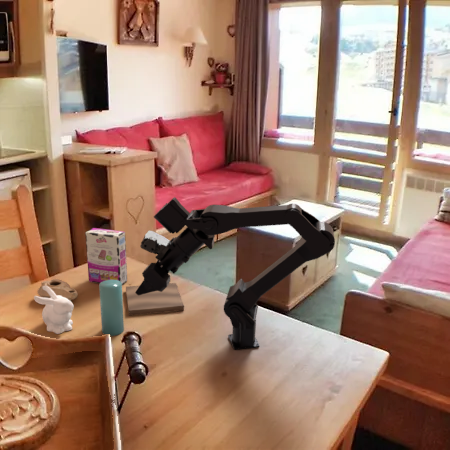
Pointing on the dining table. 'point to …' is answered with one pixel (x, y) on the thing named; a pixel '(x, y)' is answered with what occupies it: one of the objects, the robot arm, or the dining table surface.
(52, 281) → the pottery oil lamp
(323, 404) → the dining table surface
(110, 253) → the candy bar box
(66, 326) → the rabbit
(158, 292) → the walnut board
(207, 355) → the dining table surface
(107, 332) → the teal cup
